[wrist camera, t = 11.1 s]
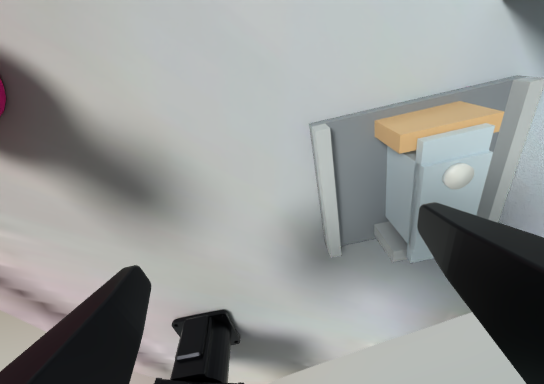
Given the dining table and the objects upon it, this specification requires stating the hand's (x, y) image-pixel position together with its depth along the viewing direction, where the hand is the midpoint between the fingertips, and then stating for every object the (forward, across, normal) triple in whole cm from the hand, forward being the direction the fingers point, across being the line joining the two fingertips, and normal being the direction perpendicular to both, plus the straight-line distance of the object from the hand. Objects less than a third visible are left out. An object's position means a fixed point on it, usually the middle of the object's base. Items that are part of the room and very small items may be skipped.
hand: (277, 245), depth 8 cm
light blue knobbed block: (+11, -11, +6) cm, 17 cm away
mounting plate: (+12, -11, +6) cm, 17 cm away
